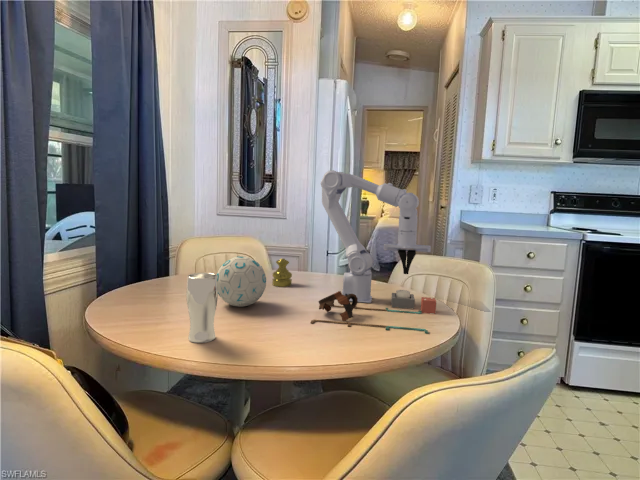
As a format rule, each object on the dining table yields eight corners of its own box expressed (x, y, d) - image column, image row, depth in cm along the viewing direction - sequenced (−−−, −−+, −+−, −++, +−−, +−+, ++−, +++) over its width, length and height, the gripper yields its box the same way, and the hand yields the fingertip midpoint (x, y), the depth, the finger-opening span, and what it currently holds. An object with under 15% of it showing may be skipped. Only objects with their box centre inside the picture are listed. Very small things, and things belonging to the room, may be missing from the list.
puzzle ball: (227, 297, 133) (228, 251, 131) (272, 301, 130) (273, 254, 128) (206, 310, 118) (206, 258, 116) (256, 314, 115) (257, 262, 114)
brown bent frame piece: (337, 325, 110) (324, 297, 111) (321, 330, 118) (309, 304, 119) (369, 308, 116) (357, 282, 118) (352, 314, 124) (341, 290, 125)
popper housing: (391, 307, 128) (392, 297, 128) (391, 301, 135) (391, 292, 135) (414, 309, 127) (414, 299, 127) (412, 303, 134) (413, 294, 134)
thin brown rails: (310, 323, 109) (310, 322, 109) (321, 303, 130) (322, 302, 130) (428, 333, 105) (428, 332, 105) (421, 311, 125) (421, 310, 125)
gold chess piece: (280, 281, 159) (281, 256, 158) (295, 284, 155) (296, 258, 153) (267, 284, 153) (268, 258, 152) (282, 288, 149) (283, 261, 147)
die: (421, 313, 124) (422, 299, 123) (420, 309, 128) (421, 296, 127) (435, 314, 123) (436, 300, 123) (433, 310, 127) (434, 297, 127)
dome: (395, 301, 129) (396, 291, 129) (395, 298, 134) (396, 288, 133) (410, 302, 129) (410, 292, 128) (409, 299, 133) (409, 289, 133)
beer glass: (190, 333, 98) (190, 272, 97) (219, 333, 99) (220, 272, 97) (183, 343, 92) (183, 278, 90) (214, 344, 92) (215, 279, 91)
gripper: (384, 231, 126) (382, 274, 127) (432, 232, 124) (430, 277, 125) (384, 229, 133) (382, 270, 134) (430, 231, 130) (428, 272, 132)
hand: (405, 273), depth 130 cm, fingers closed
